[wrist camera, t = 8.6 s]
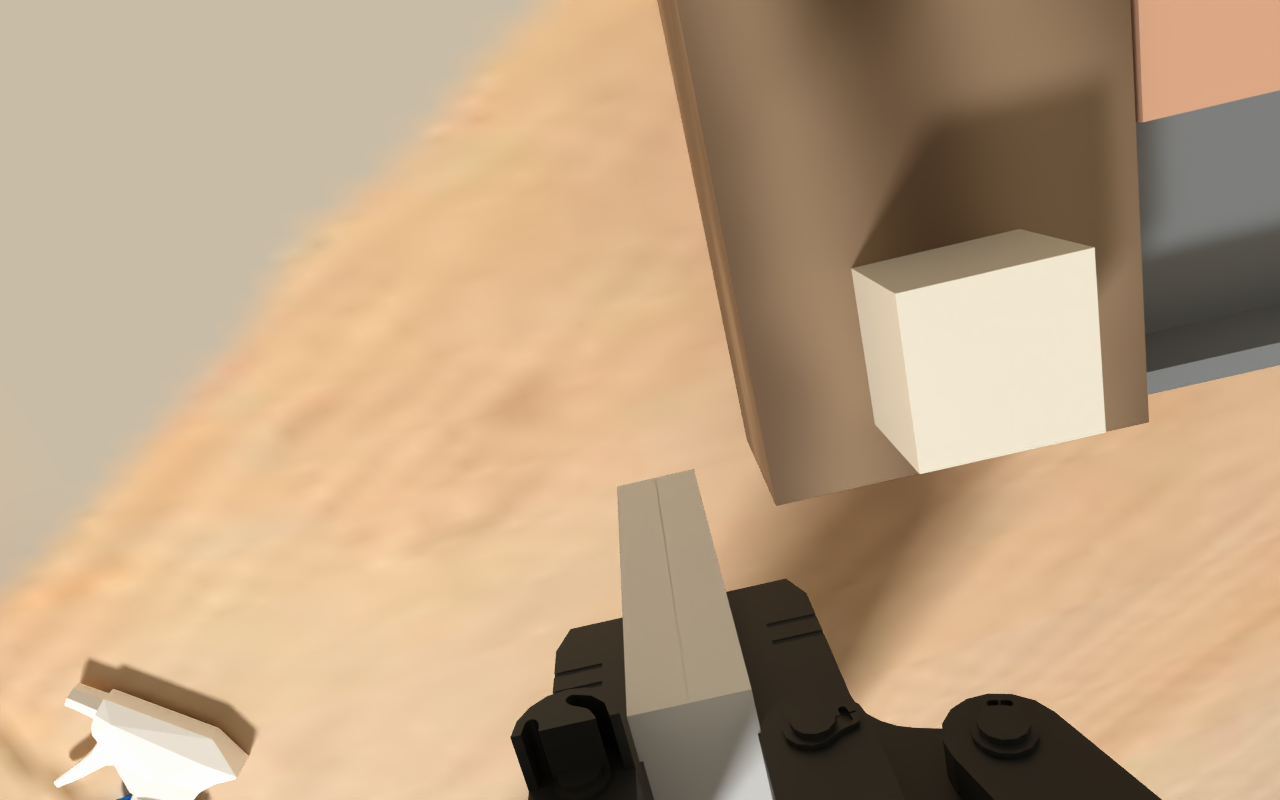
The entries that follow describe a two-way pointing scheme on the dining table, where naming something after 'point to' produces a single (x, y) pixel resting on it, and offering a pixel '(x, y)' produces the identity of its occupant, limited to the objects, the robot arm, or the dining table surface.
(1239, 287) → the box
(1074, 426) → the cream block
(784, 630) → the robot arm
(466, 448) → the dining table surface
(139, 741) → the spray bottle
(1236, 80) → the salmon orange block
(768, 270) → the block
